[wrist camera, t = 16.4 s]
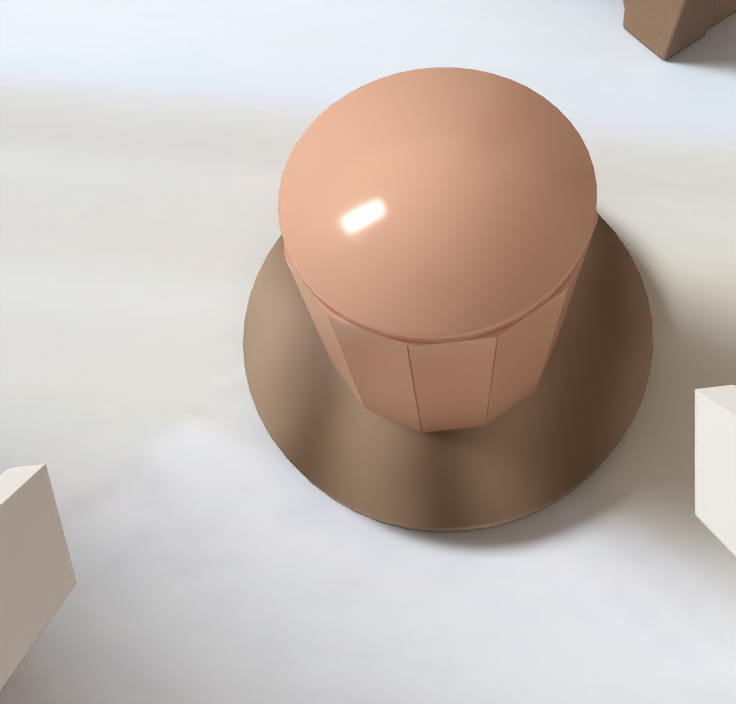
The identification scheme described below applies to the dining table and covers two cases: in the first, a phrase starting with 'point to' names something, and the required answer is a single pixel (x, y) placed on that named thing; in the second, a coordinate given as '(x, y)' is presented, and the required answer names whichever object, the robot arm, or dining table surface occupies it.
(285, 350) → the walnut board
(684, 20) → the wooden toy
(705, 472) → the robot arm
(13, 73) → the dining table surface
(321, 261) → the tan domed cylinder
